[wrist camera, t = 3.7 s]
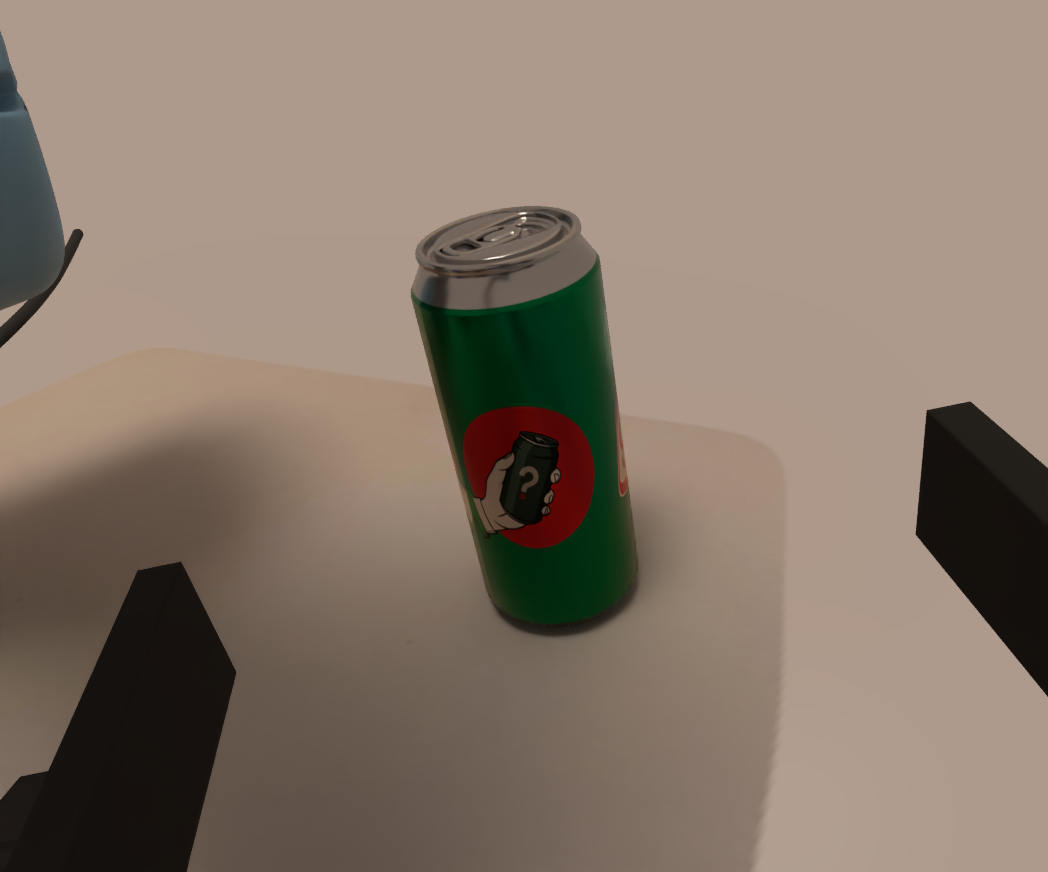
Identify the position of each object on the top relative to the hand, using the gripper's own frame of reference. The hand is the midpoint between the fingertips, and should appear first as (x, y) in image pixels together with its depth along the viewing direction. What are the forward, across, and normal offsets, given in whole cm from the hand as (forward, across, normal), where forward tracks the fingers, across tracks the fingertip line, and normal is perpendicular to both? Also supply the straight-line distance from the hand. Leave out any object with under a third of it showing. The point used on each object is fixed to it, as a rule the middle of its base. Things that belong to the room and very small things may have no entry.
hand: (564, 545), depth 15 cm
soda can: (+10, 0, -10) cm, 14 cm away
